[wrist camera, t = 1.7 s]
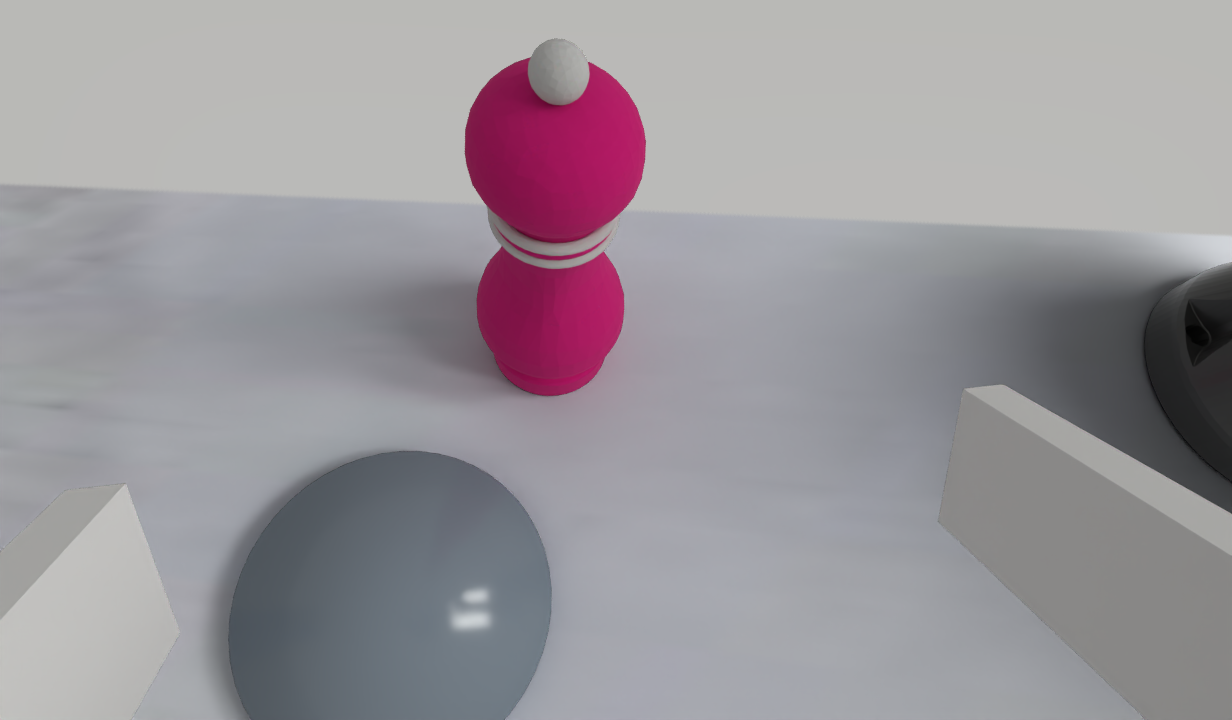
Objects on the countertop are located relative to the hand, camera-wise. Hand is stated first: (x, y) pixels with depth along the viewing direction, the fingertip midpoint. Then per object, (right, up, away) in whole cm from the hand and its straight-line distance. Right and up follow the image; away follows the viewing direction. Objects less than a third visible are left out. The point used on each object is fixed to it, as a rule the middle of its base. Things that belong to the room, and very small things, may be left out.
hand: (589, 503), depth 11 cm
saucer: (-10, -9, +20) cm, 24 cm away
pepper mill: (-3, +3, +26) cm, 26 cm away
